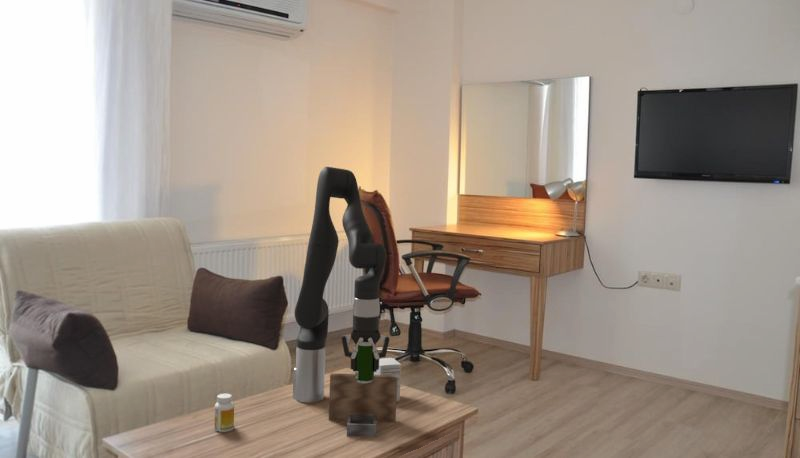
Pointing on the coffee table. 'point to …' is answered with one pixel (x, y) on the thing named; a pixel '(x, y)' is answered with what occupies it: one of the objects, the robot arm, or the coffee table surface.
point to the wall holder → (362, 402)
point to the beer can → (365, 363)
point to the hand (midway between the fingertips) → (364, 370)
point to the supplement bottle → (224, 413)
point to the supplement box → (390, 371)
